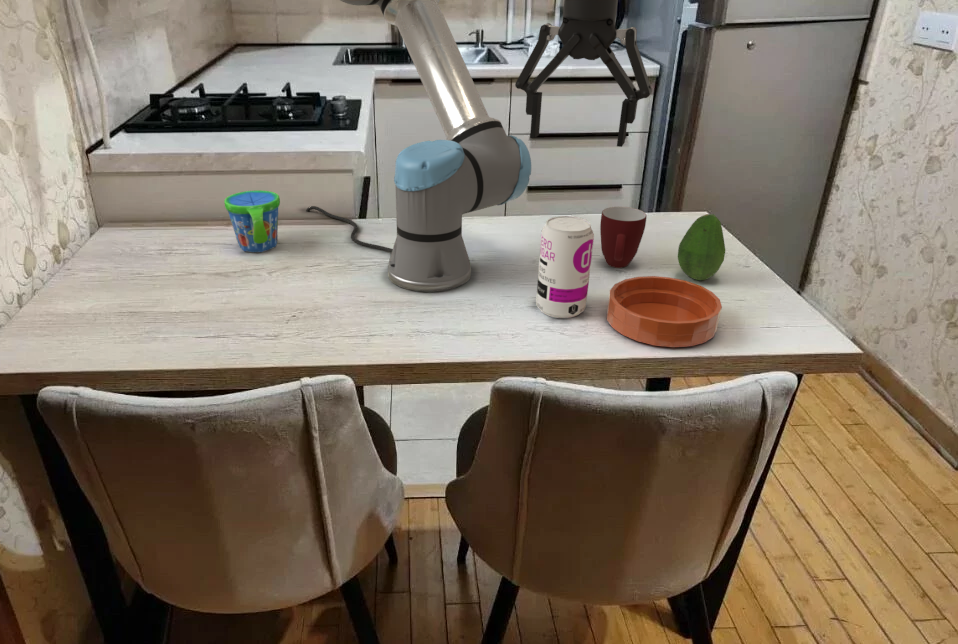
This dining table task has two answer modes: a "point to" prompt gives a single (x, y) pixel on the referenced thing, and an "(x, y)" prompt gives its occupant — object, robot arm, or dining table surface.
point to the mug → (621, 234)
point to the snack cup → (254, 219)
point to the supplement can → (564, 266)
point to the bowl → (663, 311)
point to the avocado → (702, 248)
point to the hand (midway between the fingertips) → (576, 140)
